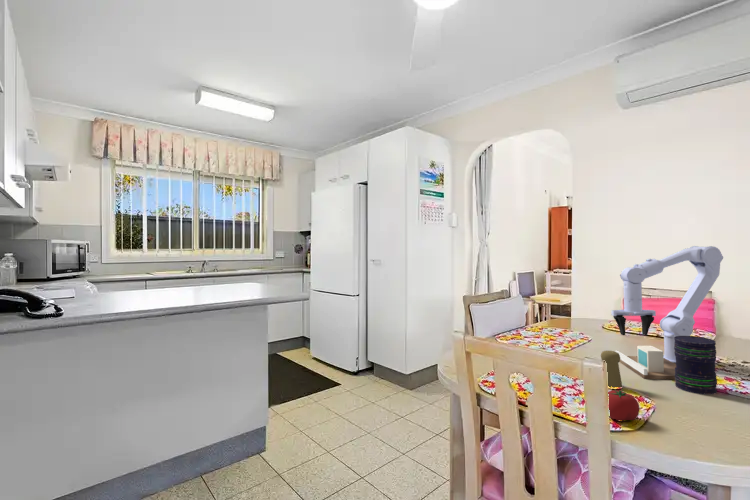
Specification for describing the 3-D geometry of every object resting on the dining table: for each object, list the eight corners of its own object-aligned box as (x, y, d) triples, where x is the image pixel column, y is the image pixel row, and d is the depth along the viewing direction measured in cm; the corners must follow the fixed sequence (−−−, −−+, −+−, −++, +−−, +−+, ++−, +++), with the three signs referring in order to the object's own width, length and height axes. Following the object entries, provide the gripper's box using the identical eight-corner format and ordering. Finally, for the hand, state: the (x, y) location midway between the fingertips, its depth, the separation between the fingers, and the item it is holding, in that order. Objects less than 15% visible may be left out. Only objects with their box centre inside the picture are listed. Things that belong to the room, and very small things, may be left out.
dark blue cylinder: (720, 397, 109) (719, 345, 109) (677, 391, 114) (676, 341, 114) (713, 385, 117) (712, 337, 117) (672, 380, 122) (671, 334, 122)
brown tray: (661, 359, 143) (661, 351, 143) (699, 380, 122) (699, 370, 122) (614, 358, 146) (614, 350, 146) (644, 378, 125) (643, 369, 125)
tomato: (645, 422, 96) (645, 393, 95) (622, 428, 93) (622, 398, 93) (616, 409, 103) (615, 383, 103) (594, 414, 100) (593, 387, 100)
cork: (619, 383, 121) (618, 349, 121) (625, 390, 115) (624, 354, 115) (598, 382, 123) (597, 348, 123) (602, 388, 117) (601, 353, 117)
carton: (652, 365, 134) (651, 345, 134) (663, 372, 127) (663, 351, 127) (637, 365, 134) (637, 345, 134) (648, 371, 128) (647, 351, 128)
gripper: (616, 300, 142) (617, 337, 142) (660, 300, 139) (661, 337, 140) (608, 298, 149) (609, 332, 149) (649, 297, 146) (650, 332, 146)
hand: (633, 334), depth 145 cm, fingers open, 7 cm apart
